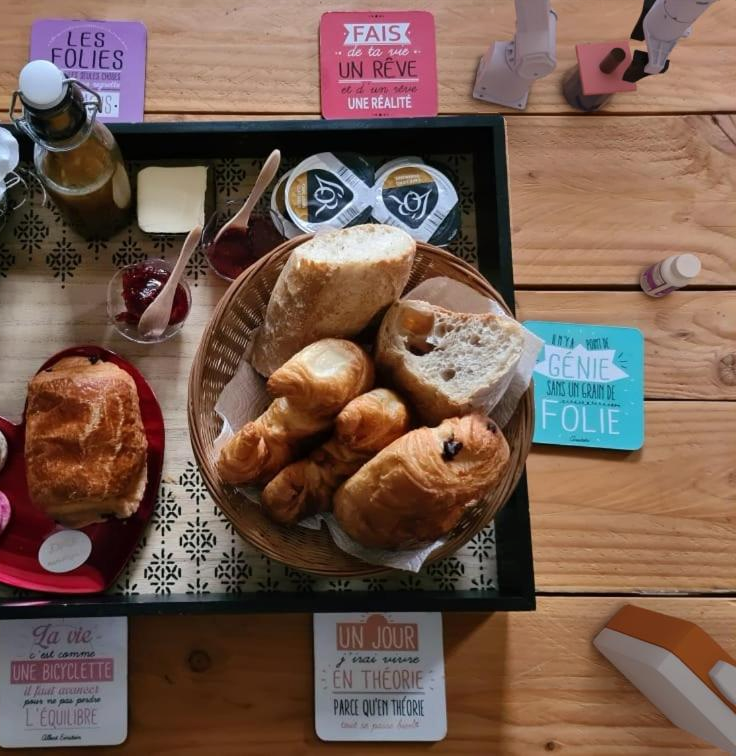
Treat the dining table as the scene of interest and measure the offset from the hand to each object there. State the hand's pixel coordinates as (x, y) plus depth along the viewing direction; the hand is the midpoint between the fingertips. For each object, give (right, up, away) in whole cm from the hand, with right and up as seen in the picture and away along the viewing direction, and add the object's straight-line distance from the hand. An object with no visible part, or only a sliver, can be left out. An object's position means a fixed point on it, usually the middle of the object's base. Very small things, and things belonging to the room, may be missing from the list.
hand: (632, 59), depth 120 cm
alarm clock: (0, -98, -4) cm, 98 cm away
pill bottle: (+7, -36, +5) cm, 37 cm away
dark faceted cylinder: (-3, -1, +10) cm, 11 cm away
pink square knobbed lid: (-2, 0, +4) cm, 5 cm away
